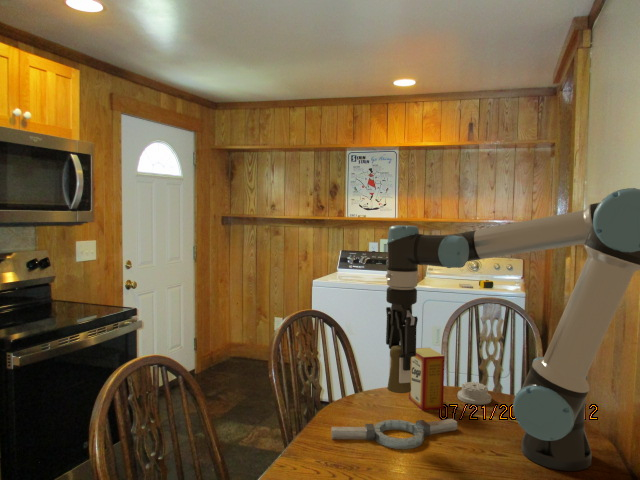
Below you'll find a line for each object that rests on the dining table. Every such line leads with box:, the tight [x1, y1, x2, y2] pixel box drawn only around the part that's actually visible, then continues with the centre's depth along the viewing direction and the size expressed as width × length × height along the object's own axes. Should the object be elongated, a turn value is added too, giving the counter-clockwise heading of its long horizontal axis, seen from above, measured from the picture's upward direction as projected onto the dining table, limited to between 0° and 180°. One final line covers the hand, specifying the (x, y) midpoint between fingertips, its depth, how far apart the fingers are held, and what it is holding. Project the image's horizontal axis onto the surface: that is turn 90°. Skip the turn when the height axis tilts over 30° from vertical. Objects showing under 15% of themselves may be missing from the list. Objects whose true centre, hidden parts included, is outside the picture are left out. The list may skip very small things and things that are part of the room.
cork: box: [386, 344, 411, 394], centre depth 129 cm, size 6×6×11 cm
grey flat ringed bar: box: [331, 418, 458, 450], centre depth 131 cm, size 33×13×3 cm, turn 91°
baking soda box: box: [408, 347, 446, 412], centre depth 153 cm, size 10×6×16 cm
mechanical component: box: [457, 381, 492, 406], centre depth 158 cm, size 10×4×10 cm
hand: (399, 378), depth 129 cm, fingers closed on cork, 5 cm apart
